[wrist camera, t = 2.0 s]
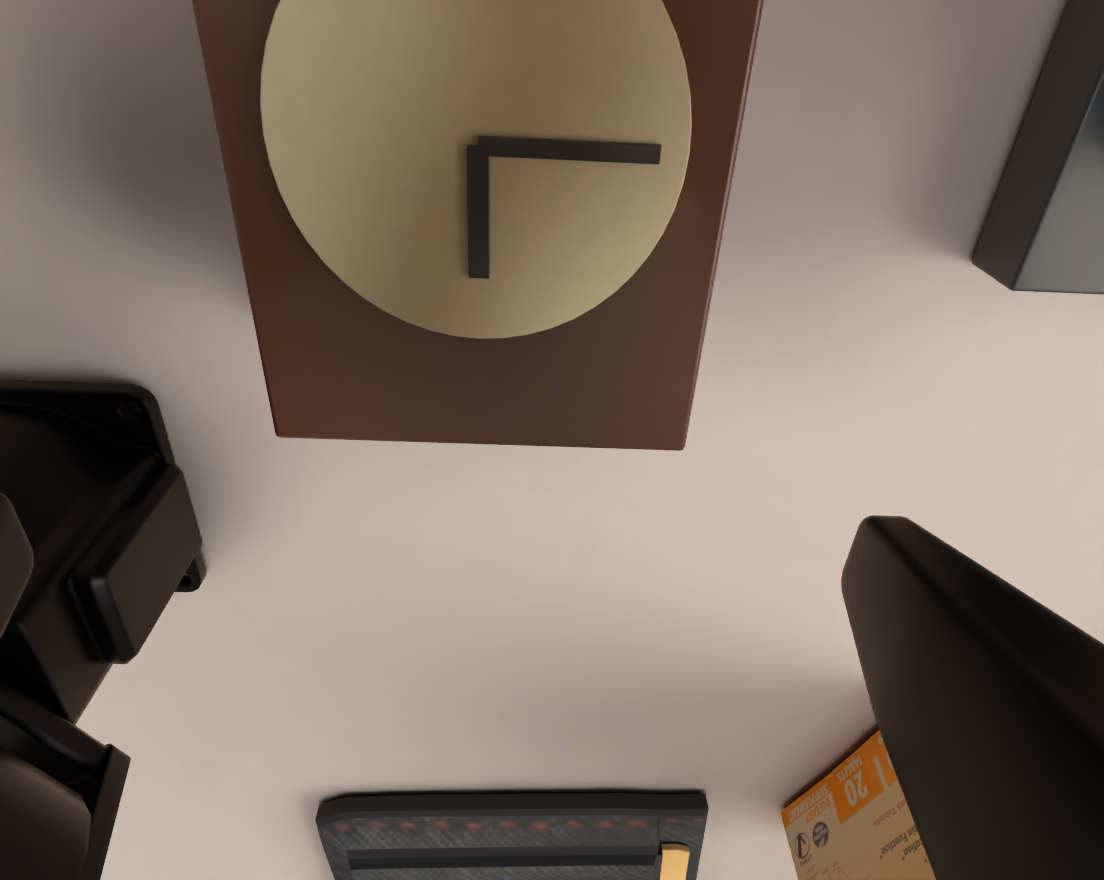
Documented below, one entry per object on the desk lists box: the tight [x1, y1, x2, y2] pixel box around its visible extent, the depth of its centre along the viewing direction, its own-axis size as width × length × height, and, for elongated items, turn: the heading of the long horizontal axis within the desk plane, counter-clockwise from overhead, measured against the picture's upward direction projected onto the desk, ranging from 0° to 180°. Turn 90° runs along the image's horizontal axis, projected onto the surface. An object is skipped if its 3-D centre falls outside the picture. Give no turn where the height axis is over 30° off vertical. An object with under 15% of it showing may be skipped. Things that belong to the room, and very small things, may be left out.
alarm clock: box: [192, 0, 764, 450], centre depth 11 cm, size 7×11×4 cm, turn 177°
